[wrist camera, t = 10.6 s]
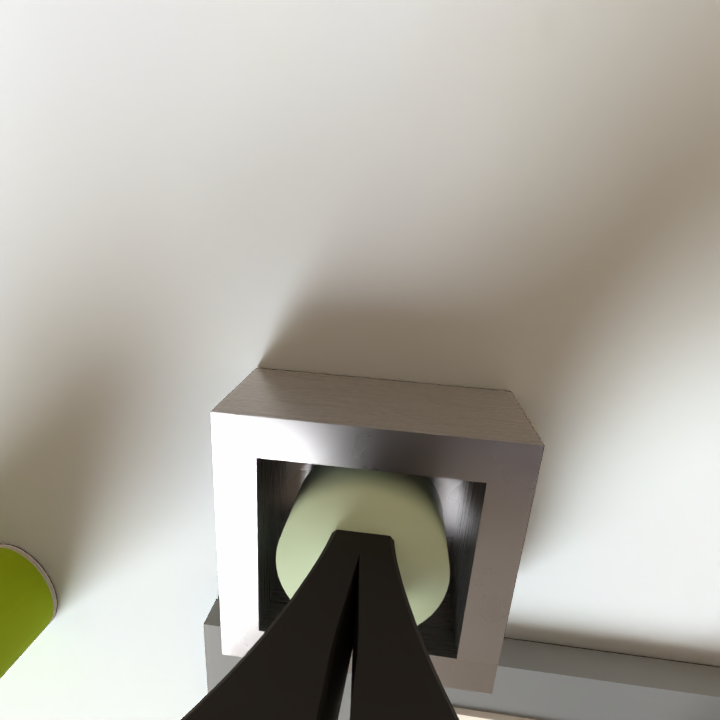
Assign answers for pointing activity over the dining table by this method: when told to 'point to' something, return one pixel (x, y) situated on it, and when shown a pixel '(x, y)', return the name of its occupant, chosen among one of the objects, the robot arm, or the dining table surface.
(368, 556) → the robot arm
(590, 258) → the dining table surface
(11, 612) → the vape
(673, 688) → the drawing board
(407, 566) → the button
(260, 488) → the button housing
